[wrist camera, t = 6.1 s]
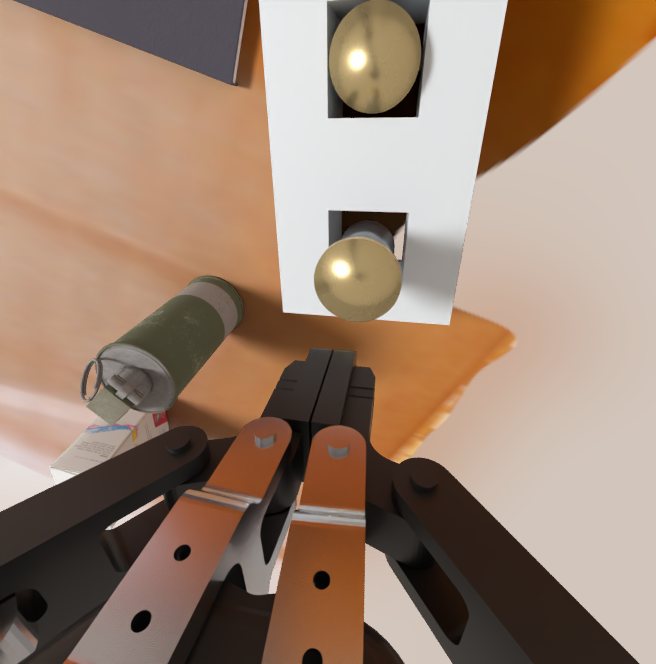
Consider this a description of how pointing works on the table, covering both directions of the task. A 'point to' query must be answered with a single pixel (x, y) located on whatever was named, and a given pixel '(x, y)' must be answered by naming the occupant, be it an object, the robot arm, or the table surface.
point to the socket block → (378, 146)
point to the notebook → (165, 28)
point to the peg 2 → (359, 273)
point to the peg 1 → (375, 56)
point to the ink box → (107, 442)
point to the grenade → (163, 351)
